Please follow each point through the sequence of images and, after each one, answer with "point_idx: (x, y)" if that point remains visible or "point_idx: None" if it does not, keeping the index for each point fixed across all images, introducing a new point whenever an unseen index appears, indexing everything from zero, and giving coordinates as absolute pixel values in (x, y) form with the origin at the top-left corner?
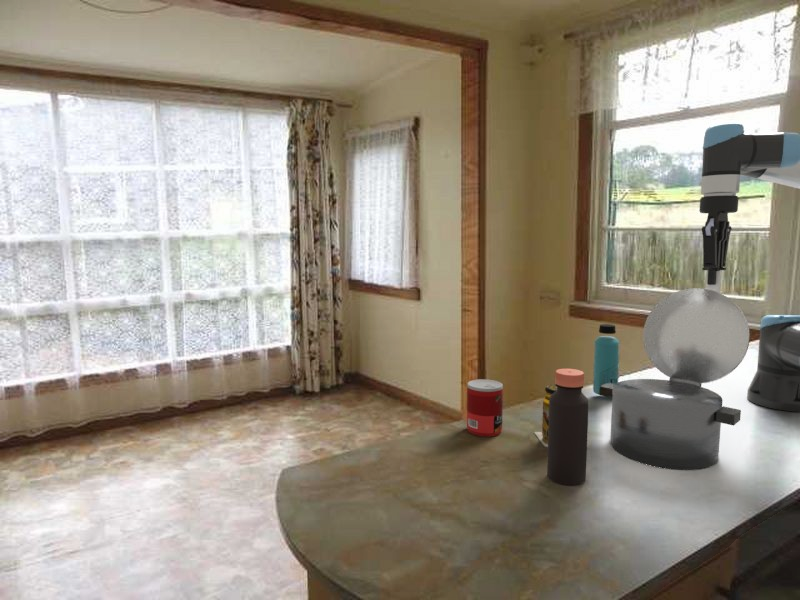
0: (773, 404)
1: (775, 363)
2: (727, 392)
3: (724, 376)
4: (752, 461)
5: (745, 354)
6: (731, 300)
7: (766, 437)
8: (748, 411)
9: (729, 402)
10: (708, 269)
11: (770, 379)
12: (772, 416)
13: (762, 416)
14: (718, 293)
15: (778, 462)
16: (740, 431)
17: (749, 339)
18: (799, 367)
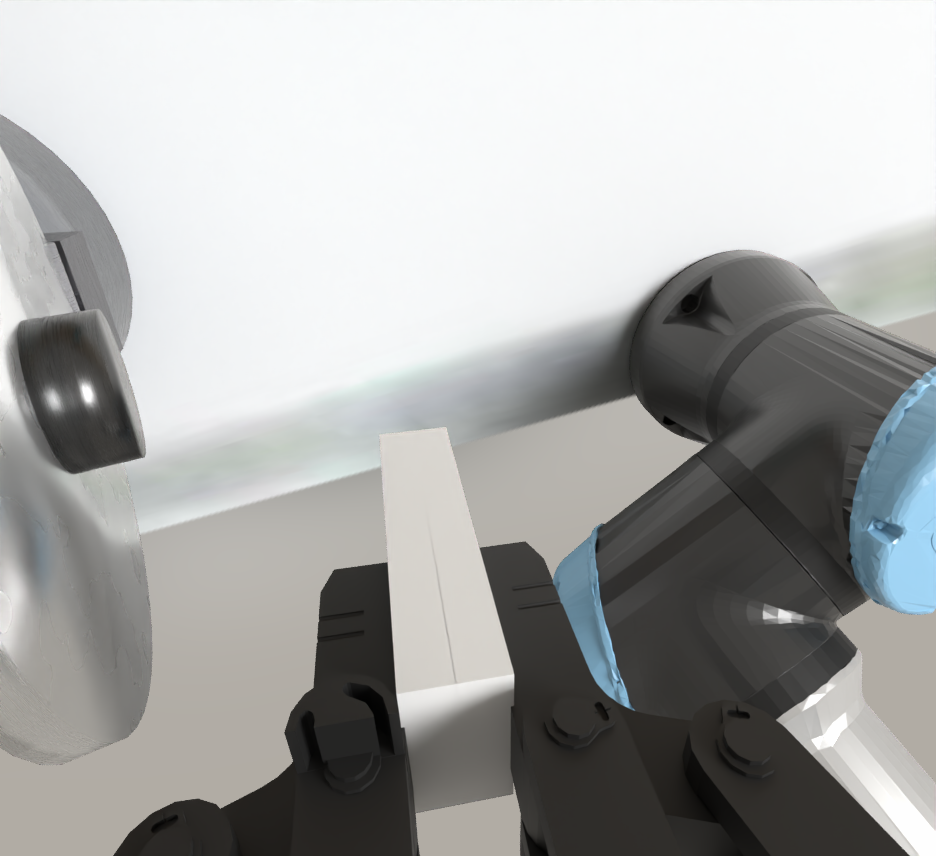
0: (636, 357)
1: (733, 405)
2: (753, 176)
3: (124, 469)
4: (135, 459)
5: (146, 585)
6: (60, 763)
7: (350, 420)
8: (559, 309)
9: (623, 230)
10: (280, 784)
11: (698, 367)
12: (556, 371)
13: (535, 353)
14: (5, 745)
15: (190, 493)
16: (341, 361)
17: (151, 641)
18: (616, 515)
